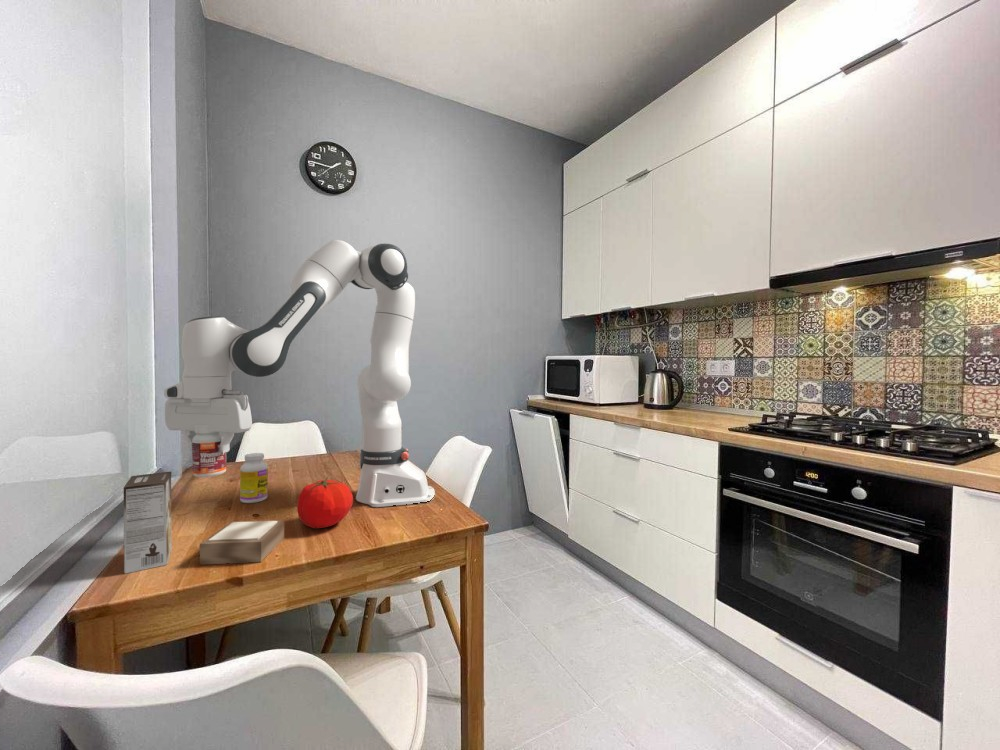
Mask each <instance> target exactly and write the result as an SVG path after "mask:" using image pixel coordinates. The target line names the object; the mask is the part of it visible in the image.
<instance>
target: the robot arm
mask: <svg viewBox="0 0 1000 750" xmlns="http://www.w3.org/2000/svg"><path fill="white" fill-rule="evenodd" d="M291 278H292V279H291V280H290V284H289V285H290V294H289V296H288V298H287V299H286V301H285V302H284V303H283V304H282V305H281V306H280V308H279V309H278V310H277V311H276V312H275V313H274V314H273V315H272V316H271V317H269V319H268V320H267V322H266V323H264V324H263V325H261V326H260V327H257V328H254V329H252V330H249V329H245V328H243V327H240V326H238V325H236V324H235V323H233V322H231V321H230V320H228V319H227V318H226V317H224V316H221V315H218V316H214V315H212V316H210V315H209V316H202V317H201V316H200V317H195V318H193V319H190V320H189V321H187V323H185V324H184V326H183V329H182V334H181V358H182V361H183V365H184V366H183V367H184V368H183V371H182V375H181V376H182V381H179V382H178V383H176V384H173V385H171V386H168V387H166V388H165V389H164V390H163V395H164V398H166V399H167V400H165V403H164V422H165V426H166V428H167V429H168V430H169V431H184V436H185V439H186V441H188V443H189V450H190V451H191V452H192V439H193V437H194V436H196V435H197V434H198V433H195V425H208V430H209V431H210V432H220V435H221V437H223V438H222V441H221V443H220V444H218V445H217V448H218V449H217V451H218V452H223V453H224V452H226V453H228V452H229V451H230V446H231V445H230V444H231V442H232V440H233V438H234V436H235V434H238V433H246V432H249V431H251V429H252V427H253V418H252V412H251V406H250V403H249V397H248V395H247V394H246V393H245V392H244V391H243V390H241V389H235V390H234V389H232V372H234V371H239V372H242V373H244V374H246V375H248V376H252V377H256V378H262V377H268V376H271V375H274V374H276V373H277V372H278V371H279V370H281V368H282V367H283V366H284V364H285V362H286V359H287V356H288V352H289V349H290V346H291V344H292V342H293V340H294V339H296V337H297V335H298V334H299V333H300V332H301V330H303V328H304V327H305V326H306V325H307V323H308V322H309V321H310V320H311V319H312V318H313V317H314V315H316V314H317V313H318V312H320V311H321V310H322V309H324V308H325V307H327V306H328V305H329V304H330V303H332V302H333V301H334V300H335V299H336V298H337V297H338V296H339V295H340V294H341V292H343V290H344V289H345V288H346V287H347V285H349V284H350V283H351V284H353V285H354V286H356V287H358V288H360V289H364V290H373V289H374V290H375V293H376V296H377V297H376V298H377V299H376V300H377V305H376V308H375V312H374V317H373V322H372V329H371V334H370V339H369V340H370V364H368V365H366V366H365V367H363V369H362V370H360V372H359V374H358V376H357V378H356V381H357V383H356V384H357V387H358V397H359V408H360V415H361V425H362V426H361V427H362V428H361V429H362V430H361V433H362V435H361V444H362V447H361V449H360V453H359V465H360V478H359V484H358V489H357V493H356V496H355V500H356V502H359V503H362V504H366V505H369V506H370V507H373V508H384V507H392V506H393V505H396V506H405V505H406V504H407V505H414V504H413V503H418V504H421V503H420V502H427V501H430V500H431V499H432V498H433V497H434V495H435V496H436V491H435V489H434V487H432V486H431V485H428V480H427V476H426V473H425V472H424V470H422V469H421V468H419V467H418V466H416V465H415V464H414V463H413V462H411V461H410V460H409V458H410V457H409V456H410V454H409V449H408V448H406V449H405V448H404V447H403V446H402V437H403V436H402V429H403V427H402V424H403V423H402V422H403V421H402V418H401V416H400V411H399V407H398V401H400V400H403V399H404V398H405V397H407V395H408V394H409V392H410V390H411V387H412V380H411V377H410V373H409V372H410V365H409V364H410V359H409V357H410V356H409V353H410V352H409V351H410V343H411V337H412V329H413V323H414V317H415V310H416V309H415V308H416V292H415V289H414V287H413V286H412V285H411V284H410V283H408V282H407V281H408V279H409V274H408V263H407V258H406V256H405V254H404V251H402V249H401V248H400V247H398V246H397V245H394V244H393V243H392V244H391V243H379V244H376V245H373V246H370V247H367V248H364V249H363V250H361V251H358V250H357V249H355V248H354V247H353V246H352V245H351V244H350V243H348V242H346V241H344V240H341V239H333V240H330V241H329V242H327V243H326V244H324V245H322V246H321V247H320V248H319V249H318V250H316V251H315V252H314V253H313V254H312V255H310V256H309V257H307V259H306V260H305V261H304V262H303V263H302V264H301V266H300V267H299V268H298V269H297V270H296V272H295V273H294V275H293V276H292V277H291ZM434 498H435V497H434ZM434 498H433V499H434ZM433 499H432V500H433ZM432 500H431V501H432ZM431 501H430V502H431ZM427 503H428V502H427ZM393 507H394V506H393Z"/></svg>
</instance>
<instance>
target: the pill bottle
mask: <svg viewBox="0 0 1000 750" xmlns="http://www.w3.org/2000/svg"><path fill="white" fill-rule="evenodd" d="M195 433H198V434H197V435H196V436H194V437H193V439H192V451H191V452H192V454H191V455H192V475H193V476H194V477H196V478H208V477H209V478H210V477H216V476H220V475H222V474H224V473H225V472H226V471H227V452H224V453H223V452H218V451H217V449H218V448H217V445H218V444H220V443H221V441H222V438H223V437H221V435H220V432H210V431H209V430H208V425H195Z"/></svg>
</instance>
